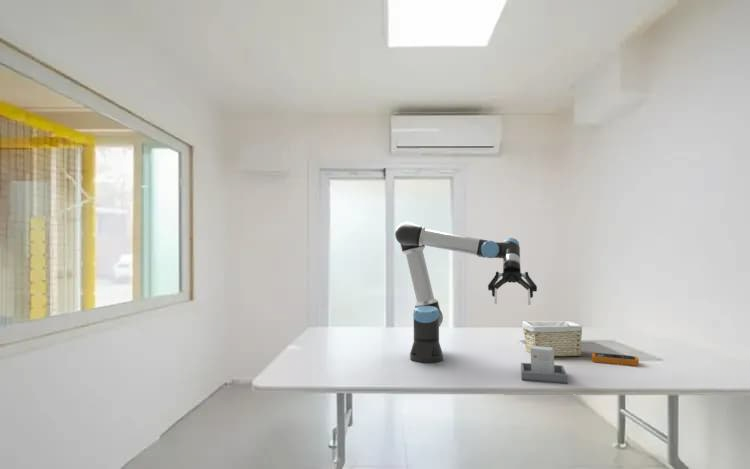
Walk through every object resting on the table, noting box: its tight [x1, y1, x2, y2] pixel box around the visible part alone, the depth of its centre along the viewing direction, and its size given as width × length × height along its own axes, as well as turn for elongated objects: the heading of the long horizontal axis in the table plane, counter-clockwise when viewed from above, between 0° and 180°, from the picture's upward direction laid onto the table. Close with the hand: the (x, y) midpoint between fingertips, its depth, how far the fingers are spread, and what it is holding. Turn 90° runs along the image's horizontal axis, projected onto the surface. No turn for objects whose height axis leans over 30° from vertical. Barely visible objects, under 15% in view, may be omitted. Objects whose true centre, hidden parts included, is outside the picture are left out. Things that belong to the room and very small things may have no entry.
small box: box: [530, 346, 555, 374], centre depth 170 cm, size 8×6×10 cm
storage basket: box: [521, 320, 583, 357], centre depth 210 cm, size 24×16×15 cm
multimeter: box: [591, 351, 640, 367], centre depth 192 cm, size 9×18×3 cm, turn 63°
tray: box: [520, 362, 569, 385], centre depth 169 cm, size 16×15×3 cm
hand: (512, 302), depth 182 cm, fingers open, 13 cm apart
